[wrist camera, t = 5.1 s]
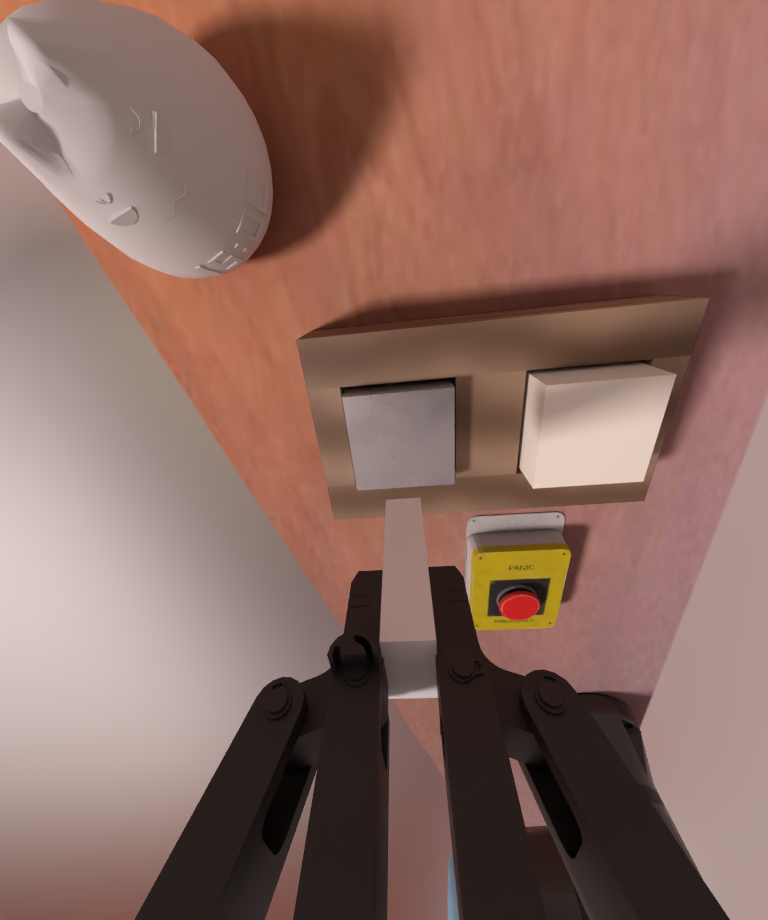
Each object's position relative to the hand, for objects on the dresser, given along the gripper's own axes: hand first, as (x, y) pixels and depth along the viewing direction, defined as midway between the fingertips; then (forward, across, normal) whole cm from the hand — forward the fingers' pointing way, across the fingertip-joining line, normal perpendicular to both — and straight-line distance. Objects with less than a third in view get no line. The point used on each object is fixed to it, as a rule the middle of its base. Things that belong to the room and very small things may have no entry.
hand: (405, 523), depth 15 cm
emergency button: (+15, -10, +18) cm, 26 cm away
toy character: (+14, +11, -16) cm, 24 cm away
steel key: (+12, 0, 0) cm, 12 cm away
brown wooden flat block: (+14, -6, 0) cm, 15 cm away
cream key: (+11, -12, 0) cm, 16 cm away
